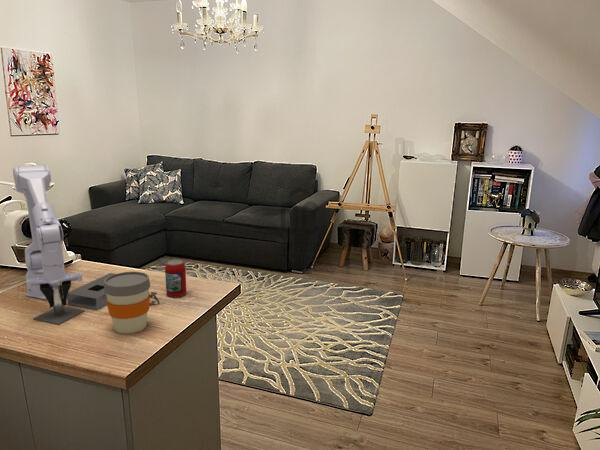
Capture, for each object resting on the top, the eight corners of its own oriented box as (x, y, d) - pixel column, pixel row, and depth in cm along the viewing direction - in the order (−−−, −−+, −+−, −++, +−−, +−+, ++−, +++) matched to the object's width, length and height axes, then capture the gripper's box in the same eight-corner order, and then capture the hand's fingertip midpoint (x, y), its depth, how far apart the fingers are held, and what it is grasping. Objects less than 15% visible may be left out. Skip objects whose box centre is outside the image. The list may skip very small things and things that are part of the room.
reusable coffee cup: (118, 316, 138) (114, 270, 134) (158, 317, 138) (155, 271, 134) (99, 335, 126) (94, 286, 122) (143, 337, 126) (140, 287, 122)
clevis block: (67, 304, 145) (66, 293, 144) (111, 283, 164) (110, 273, 163) (97, 310, 142) (95, 298, 141) (138, 287, 160) (137, 277, 159)
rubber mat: (33, 319, 135) (33, 318, 135) (60, 306, 144) (60, 305, 144) (58, 325, 132) (58, 323, 131) (84, 311, 141) (84, 310, 141)
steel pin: (51, 315, 137) (47, 286, 134) (59, 311, 139) (56, 283, 137) (59, 316, 136) (55, 287, 133) (67, 312, 138) (63, 284, 136)
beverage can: (162, 296, 153) (160, 263, 150) (174, 289, 159) (173, 257, 156) (178, 299, 151) (176, 266, 148) (190, 292, 157) (189, 260, 154)
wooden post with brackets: (162, 302, 147) (156, 291, 145) (139, 314, 145) (132, 303, 143) (161, 299, 148) (155, 289, 147) (139, 312, 146) (132, 301, 145)
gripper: (23, 270, 127) (29, 314, 130) (80, 264, 133) (84, 306, 136) (26, 263, 133) (31, 305, 136) (79, 257, 139) (84, 297, 143)
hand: (58, 305), depth 137 cm, fingers closed on steel pin, 3 cm apart
